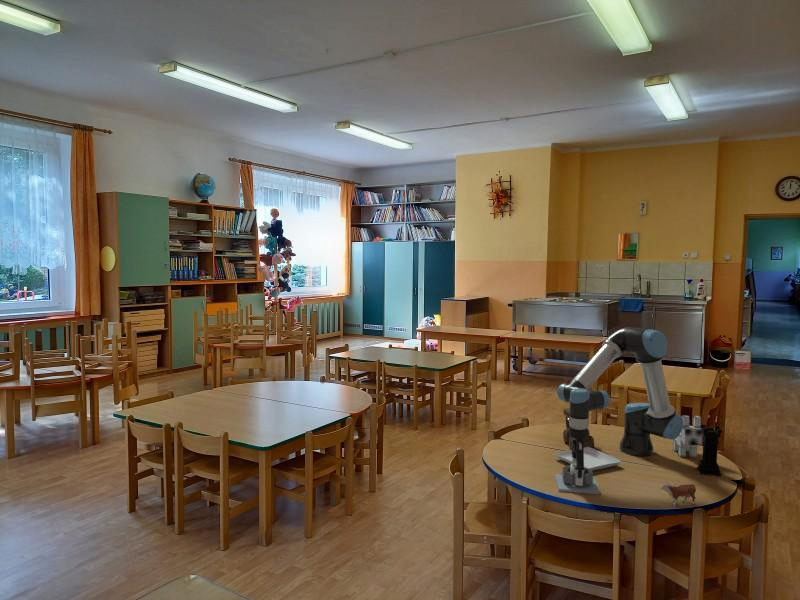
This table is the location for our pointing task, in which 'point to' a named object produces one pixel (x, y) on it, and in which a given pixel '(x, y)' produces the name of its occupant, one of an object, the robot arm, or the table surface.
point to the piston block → (568, 487)
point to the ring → (571, 477)
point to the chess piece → (710, 451)
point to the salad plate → (591, 459)
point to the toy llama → (688, 437)
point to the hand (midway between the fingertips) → (577, 479)
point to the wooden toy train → (567, 439)
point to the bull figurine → (680, 491)
